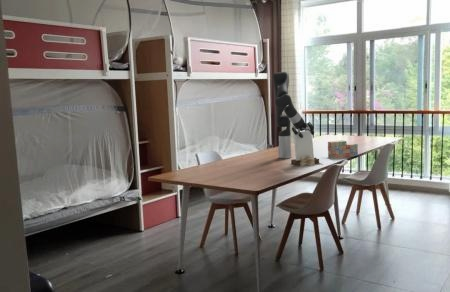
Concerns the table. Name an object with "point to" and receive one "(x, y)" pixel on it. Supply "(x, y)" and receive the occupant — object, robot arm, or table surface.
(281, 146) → the robot arm
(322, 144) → the table surface
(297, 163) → the walnut rack
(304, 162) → the offcut stack
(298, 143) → the tall board
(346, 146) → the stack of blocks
